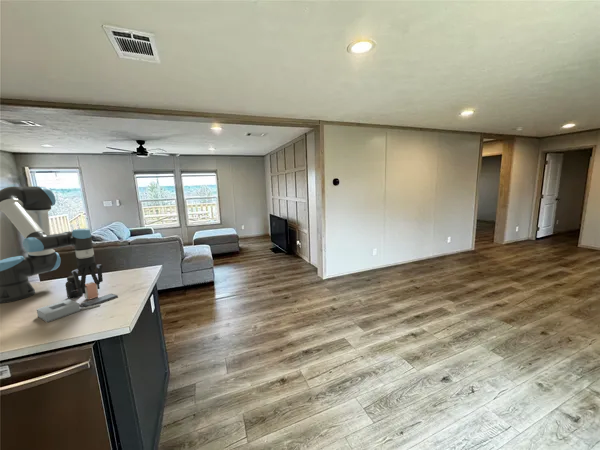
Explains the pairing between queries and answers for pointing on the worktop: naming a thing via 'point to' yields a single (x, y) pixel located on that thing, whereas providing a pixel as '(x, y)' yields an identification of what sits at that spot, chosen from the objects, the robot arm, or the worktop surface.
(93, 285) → the block
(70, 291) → the supplement bottle
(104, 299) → the phone
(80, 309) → the cable
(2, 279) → the robot arm
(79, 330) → the worktop surface
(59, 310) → the outlet plate
